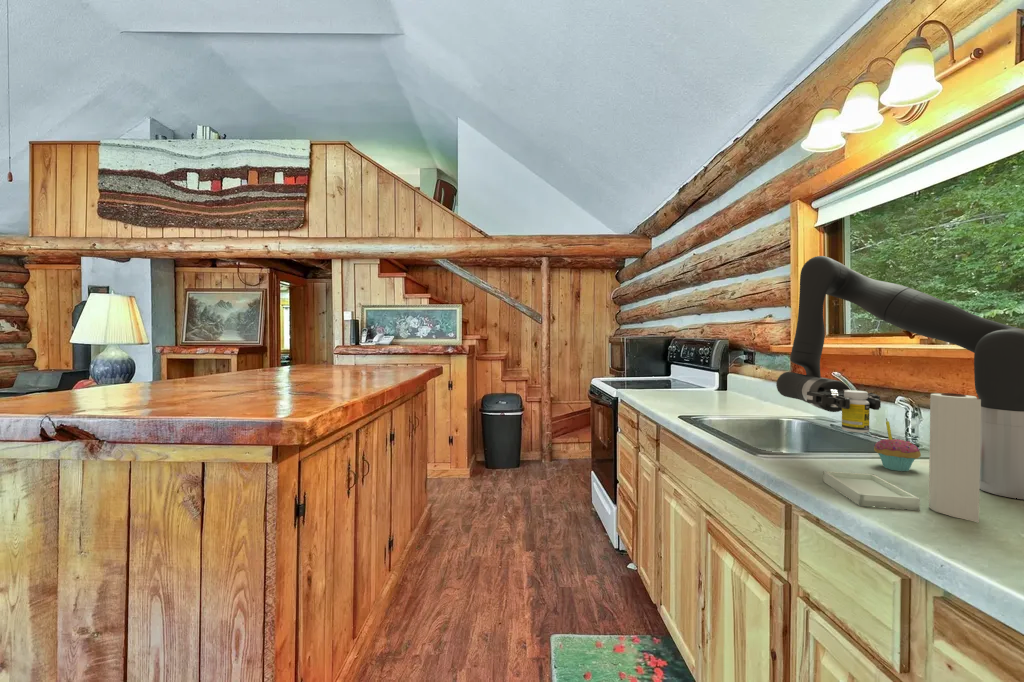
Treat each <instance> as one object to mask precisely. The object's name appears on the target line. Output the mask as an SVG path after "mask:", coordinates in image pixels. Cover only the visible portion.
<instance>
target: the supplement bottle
mask: <svg viewBox="0 0 1024 682" xmlns="http://www.w3.org/2000/svg"><path fill="white" fill-rule="evenodd" d="M844 397H846V398H849V399H850V408H849V409H844V408H842V411H841V429H842V430H843V431H846V432H850V433H861V434H862V433H863V434H864V433H869V432H870V413H871V412H870V410H871V409H870V403H869V402H868V401H867V400H866V399H868V391H865V390H853V389H850V390H845V391H844Z"/></svg>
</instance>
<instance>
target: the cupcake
mask: <svg viewBox="0 0 1024 682" xmlns="http://www.w3.org/2000/svg"><path fill="white" fill-rule="evenodd" d="M890 424H891V423H890V421H888V418H887V417H886V418H885V425H886V431H887V437H888V438H884V439H881V440H878V441H876V442H875V443H874V445H873V449H874V452H876V453H877V454H878V456H879V457H880V461H881V463H882V466H883V468H885V469H887V470H891V471H896V472H909V471H910V469H911V467H912V465H913V463H914V461H915V460H916V459H919V458H921V456H922V455H921V451H920V450H921V449H919V447H918V446H917V445H916V444H914V443H912V442H910V441H909V440H904V439H899V438H893V436H892V435H893V434H892V430H891V425H890Z"/></svg>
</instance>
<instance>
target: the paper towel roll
mask: <svg viewBox="0 0 1024 682" xmlns="http://www.w3.org/2000/svg"><path fill="white" fill-rule="evenodd" d="M929 398H930V400H929V401H930V402H929V405H930V406H929V407H930V408H929V411H930V413H929V459H928V460H929V466H928V467H929V470H928V471H929V472H928V477H929V479H928V507H929V509H931V510H932V511H933V512H936V513H939V514H942V515H947V516H950V517H952V518H956V519H957V518H958V519H963V520H967V521H972V522H975V523H977V524H978V523H980V489H979V483H980V422H981V399H979V398H978V396H975V395H967V394H961V393H953V392H952V393H951V392H947V393H946V392H945V393H944V392H943V393H938V392H937V393H930V397H929Z"/></svg>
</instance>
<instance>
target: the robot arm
mask: <svg viewBox="0 0 1024 682" xmlns="http://www.w3.org/2000/svg"><path fill="white" fill-rule="evenodd" d="M798 295H799V298H798V309H797V312H798V313H797V321H796V329H795V334H794V338H793V339H794V340H793V343H792V347H791V352H790V358H789V359H790V362H791V363H792V364H795V365H797V366H799V367H801V368H803V369H804V370H805V371H804V372H805V374H804V373H803V374H802V373H798V372H793V371H785V372H783V373H782V374H780V375H779V376H778V378H777V379H776V383H775V384H776V389H777V392H778V393H779V394H780V395H781V396H783V397H786V398H790V399H796V400H798V401H799V400H800V401H803V402H805V403H807V404H810V405H811V406H814V407H816V408H818V409H821V410H823V411H826V412H830V413H838V412H842V408H844V409H849V408H850V399H849V398H846V397H844V391H845V390H851V388H850V387H849V386H848V385H847V384H846V383H844V382H843V381H840V380H835V379H831V378H826V377H822V376H821V375H822V374H821V358H822V357H821V356H822V355H823V349H824V344H825V336H826V335H825V334H826V329H825V321H824V305H825V299H826V295H827V296H830V297H834V298H837V299H842V300H844V301H845V302H846V301H847V302H849V303H852V304H854V305H856V306H859V307H860V308H861V309H863V310H864V311H866V312H867V313H869V314H870V315H872V316H874V317H876V318H878V319H879V320H881V321H883V322H885V323H887V324H889V325H890V324H891V325H893V326H895V327H897V328H899V329H902V330H904V331H906V332H910V333H913V334H916V335H919V336H923V337H926V338H930V339H935V340H937V341H942V342H946V343H949V344H952V345H956V346H958V347H961V348H963V349H965V350H967V351H969V352H971V353H974V354H973V373H974V375H973V376H974V390H975V392H976V395H977V398H978V399H981V422H980V483H979V490H981V491H984V492H986V493H990V494H993V495H996V496H1001V497H1005V498H1006V497H1007V498H1009V499H1010V498H1012V499H1016V498H1017V499H1018V500H1024V328H1021V327H1015V326H1011V325H1009V324H1004V323H1000V322H997V321H993V320H990V319H988V318H984V317H981V316H980V315H979V316H978V315H976V314H974V313H971V312H969V311H967V310H966V309H962V308H961V307H958V306H957V305H956V306H955V305H954V304H951V303H950V302H947V301H945V300H942V299H940V298H937V297H935V296H933V295H930V294H928V293H926V292H923V291H919V290H917V289H914V288H911V287H908V286H906V285H902V284H898V283H893V282H890V281H889V282H888V281H883V280H878V279H873V278H870V277H869V276H866V275H864V274H861V273H860V272H858V271H855V270H854V269H852V268H850V267H848V266H846V265H844V264H843V263H841V262H839V261H837V260H835V259H834V258H831V257H828V256H826V255H825V256H824V255H819V256H818V255H817V256H814V257H811V258H809V259H808V260H807V261H806V262H805V263H804V265H802V268H801V270H800V274H799V294H798ZM866 400H867V401H868V402H869V403H870V410H874V411H875V410H877V411H879V410H880V409H881V395H878V394H876V393H873V392H869V393H868V399H866Z"/></svg>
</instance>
